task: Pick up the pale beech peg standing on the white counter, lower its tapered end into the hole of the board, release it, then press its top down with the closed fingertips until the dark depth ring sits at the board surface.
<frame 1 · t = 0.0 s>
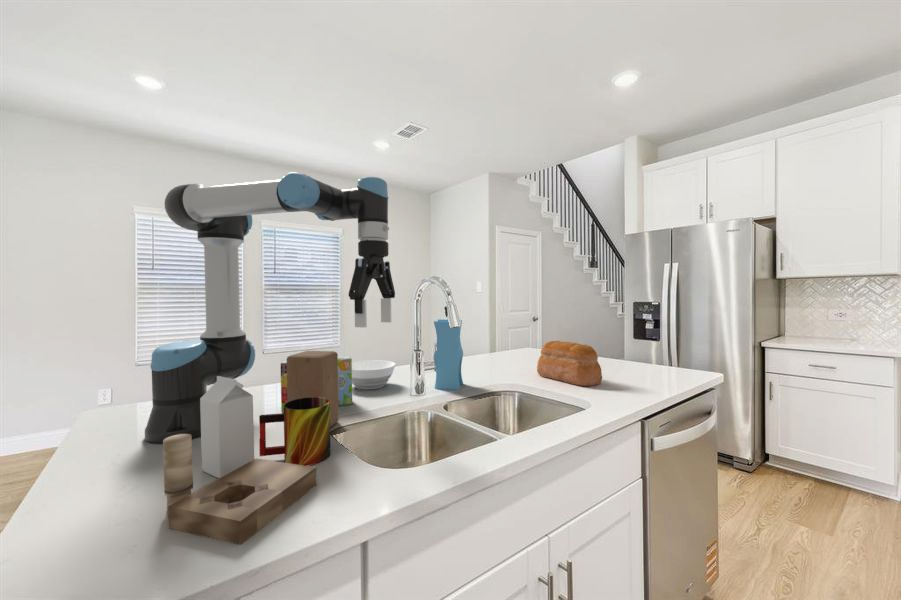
hand: (374, 324, 101), 28 cm above the worktop, fingers open, 13 cm apart
milk carton: (228, 469, 82), on the worktop
wooden block: (314, 427, 107), on the worktop
peg: (179, 507, 68), on the worktop
bowl: (370, 386, 151), on the worktop
bread: (568, 380, 160), on the worktop
snack box: (317, 406, 126), on the worktop
board: (249, 504, 68), on the worktop
vase: (448, 386, 150), on the worktop
mug: (298, 460, 87), on the worktop
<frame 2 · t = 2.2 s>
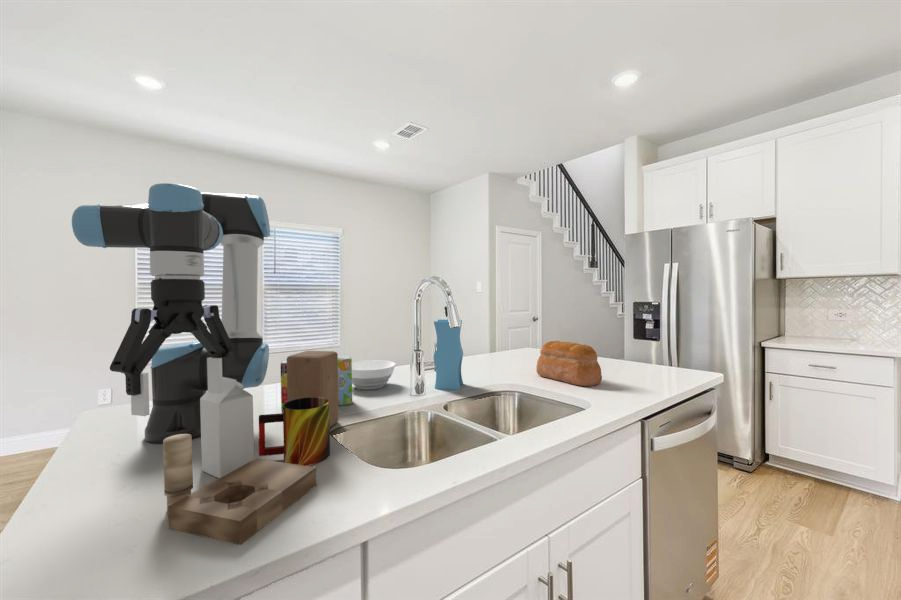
hand: (181, 402, 68), 18 cm above the worktop, fingers open, 13 cm apart
nothing on the worktop moved.
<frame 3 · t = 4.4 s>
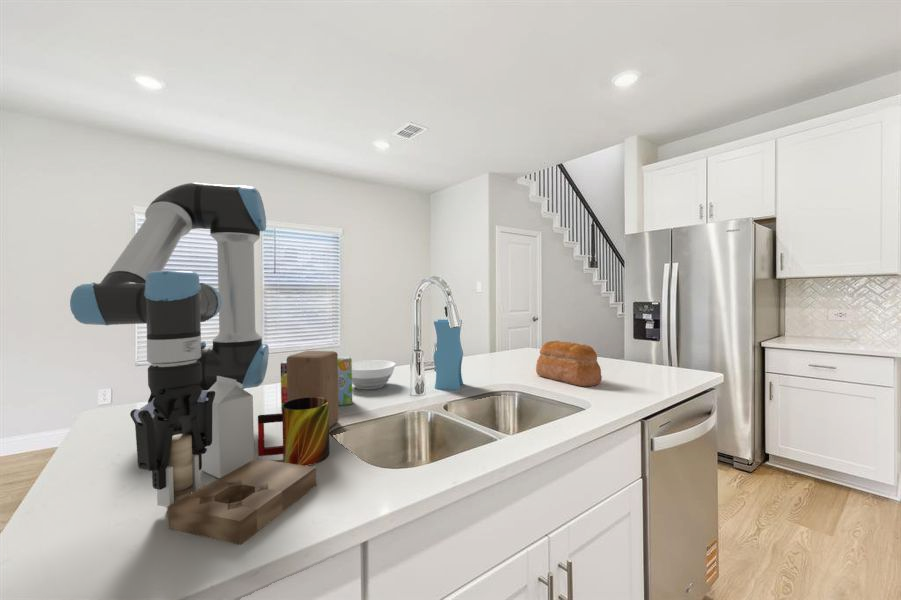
hand: (179, 497, 68), 2 cm above the worktop, fingers closed on peg, 4 cm apart
peg: (179, 507, 68), on the worktop, touching gripper
everything else where it was.
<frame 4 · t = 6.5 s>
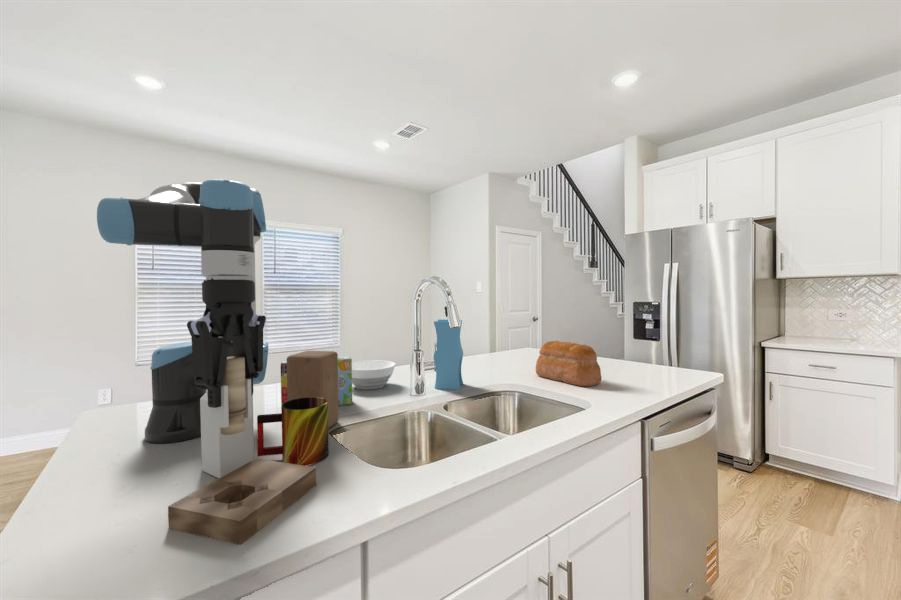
hand: (232, 421, 65), 16 cm above the worktop, fingers closed on peg, 4 cm apart
peg: (232, 431, 65), point 14 cm above the worktop, touching gripper
everything else where it was.
when the fingers open (5 cm above the worktop, at t = 8.7 s): peg drops 3 cm, resting in board.
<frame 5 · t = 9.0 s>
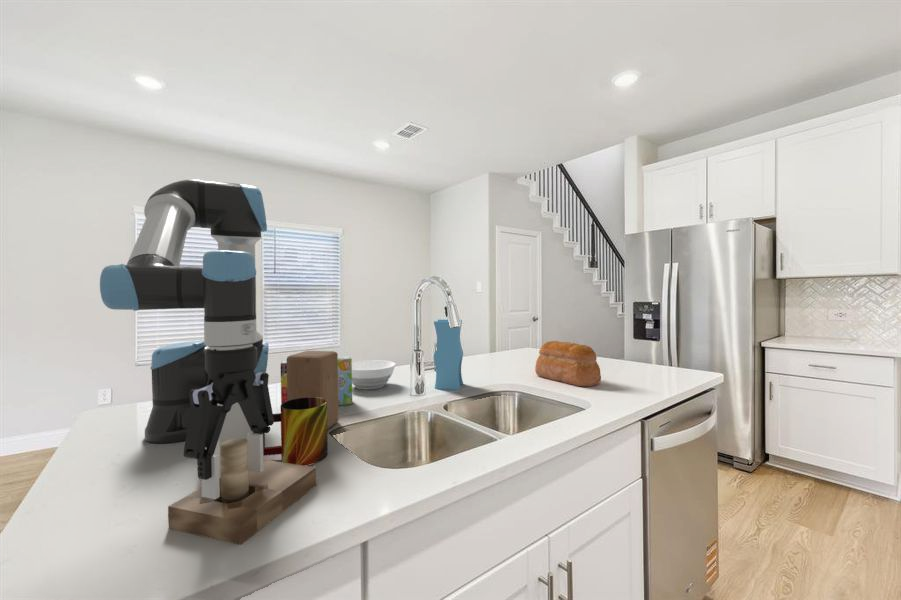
hand: (234, 482, 65), 5 cm above the worktop, fingers open, 8 cm apart
peg: (235, 514, 66), resting in board
everything else where it was.
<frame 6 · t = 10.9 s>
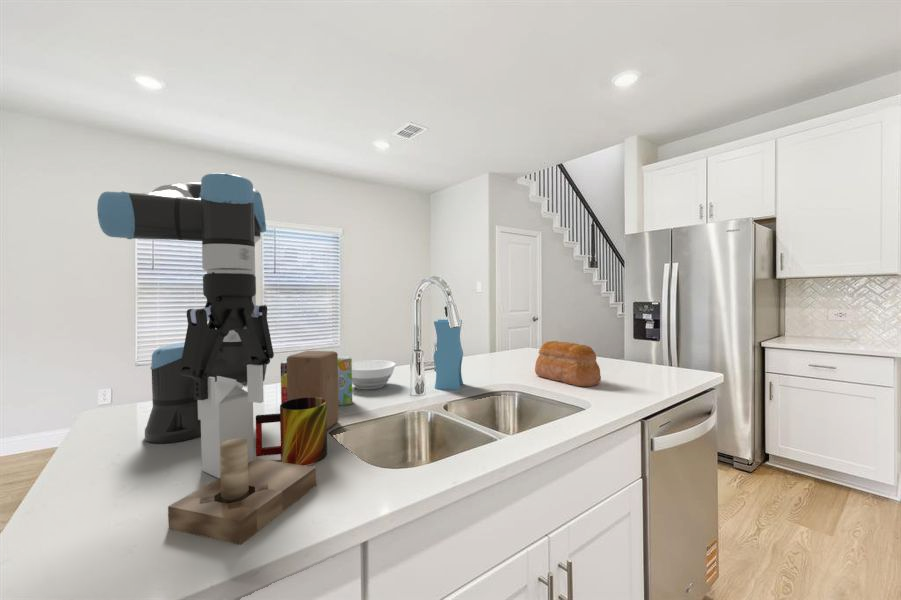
hand: (233, 409, 65), 17 cm above the worktop, fingers open, 9 cm apart
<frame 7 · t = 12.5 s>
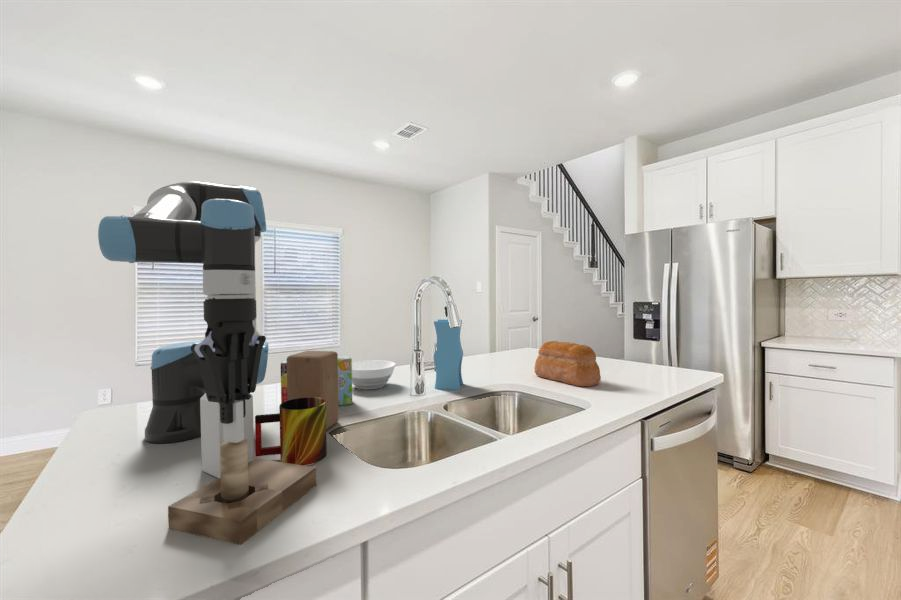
hand: (233, 440, 65), 12 cm above the worktop, fingers closed
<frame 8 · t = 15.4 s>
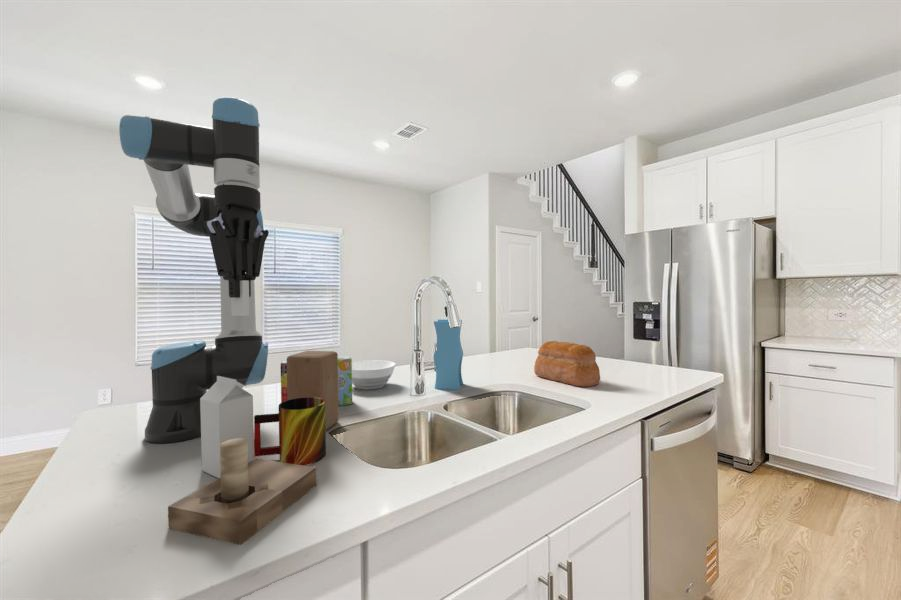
hand: (240, 315, 74), 32 cm above the worktop, fingers closed
at the end: peg 0.0 cm from the target spot in the board, point 0.0 cm above the board's base; peg tilted 0°; the gripper is holding nothing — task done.
